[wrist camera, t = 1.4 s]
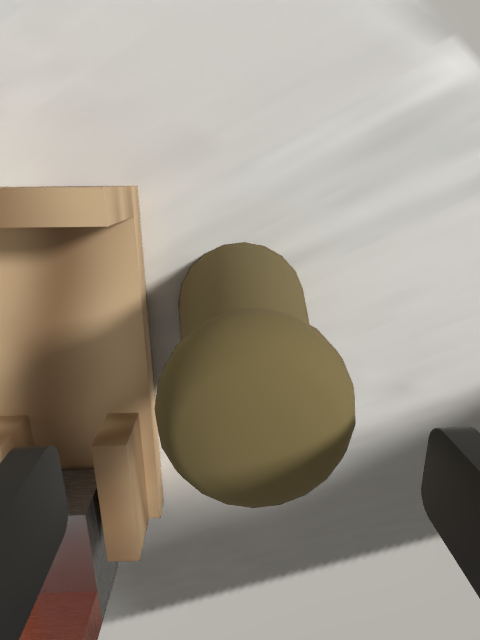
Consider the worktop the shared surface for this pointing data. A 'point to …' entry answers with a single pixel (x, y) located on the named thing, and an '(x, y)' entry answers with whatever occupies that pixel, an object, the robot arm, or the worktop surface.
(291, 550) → the worktop surface
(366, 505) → the worktop surface
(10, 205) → the light brown wooden holder
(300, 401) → the olive rounded piece
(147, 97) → the worktop surface
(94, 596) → the red grey l-shaped block
